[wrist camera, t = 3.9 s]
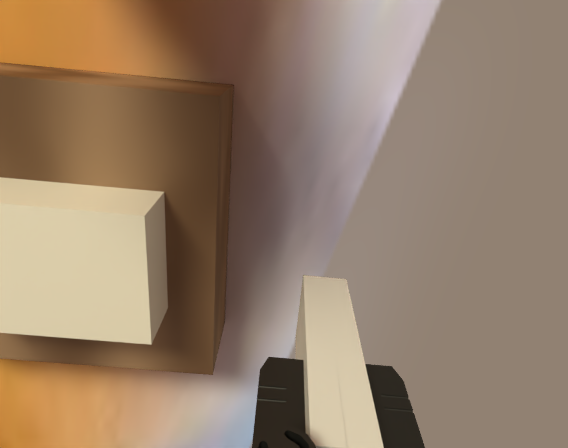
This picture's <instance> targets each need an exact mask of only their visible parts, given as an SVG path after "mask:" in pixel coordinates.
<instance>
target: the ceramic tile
mask: <svg viewBox="0 0 568 448" xmlns="http://www.w3.org/2000/svg"><path fill="white" fill-rule="evenodd" d="M167 309H168V295H167V263H166V231H165V199H164V192H160V191H149V190H138V189H126V188H115V187H104V186H92V185H81V184H70V183H59V182H47V181H36V180H25V179H13V178H2V177H0V333H10V334H23V335H36V336H48V337H61V338H74V339H86V340H99V341H112V342H125V343H137V344H150V345H151V344H152V342H153V340H154V338H155V336H156V333H157V331H158V329H159V327H160V324H161V322H162V320H163V318H164V316H165V313H166V311H167Z"/></svg>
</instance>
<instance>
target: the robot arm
mask: <svg viewBox="0 0 568 448" xmlns="http://www.w3.org/2000/svg"><path fill="white" fill-rule="evenodd" d="M252 448H425V447H424V443H423V440H422V437H421V434H420V431H419V428H418V425H417V422H416V419H415V415H414V413H413V409H412V406H411V403H410V400H408V394H407V391H406V388H405V384H404V382H403V380H402V378H401V377H400V376H399V375H398V374H397V372H396V371H395V370H394V369H393V367H392V366H381V365H370V364H365V361H364V357H363V352H362V348H361V343H360V339H359V334H358V330H357V325H356V321H355V316H354V312H353V307H352V303H351V298H350V294H349V289H348V285H347V280H346V279H339V278H327V277H317V276H306V275H303V283H302V291H301V299H300V306H299V314H298V322H297V330H296V359H287V358H275V357H268V359H267V360H266V362H265V363H264V365H263V366H262V368H261V369H260V376H259V386H258V395H257V405H256V415H255V424H254V434H253V444H252Z"/></svg>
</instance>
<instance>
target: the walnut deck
mask: <svg viewBox="0 0 568 448" xmlns="http://www.w3.org/2000/svg"><path fill="white" fill-rule="evenodd" d="M233 86H234V85H229V84H219V83H208V82H198V81H187V80H177V79H166V78H156V77H145V76H135V75H125V74H114V73H104V72H93V71H83V70H72V69H62V68H52V67H41V66H31V65H20V64H10V63H0V177H2V178H13V179H25V180H36V181H47V182H59V183H70V184H81V185H92V186H104V187H115V188H126V189H138V190H149V191H160V192H164V199H165V231H166V263H167V295H168V309H167V311H166V313H165V316H164V318H163V320H162V322H161V324H160V327H159V329H158V331H157V333H156V336H155V338H154V340H153V342H152V344H151V345H150V344H137V343H125V342H112V341H99V340H86V339H74V338H61V337H48V336H36V335H23V334H10V333H0V358H1V359H14V360H27V361H40V362H53V363H66V364H79V365H92V366H105V367H118V368H131V369H144V370H157V371H170V372H183V373H196V374H209V375H213V371H214V367H215V362H216V358H217V353H218V349H219V345H220V340H221V336H222V332H223V327H224V323H225V297H226V271H227V244H228V218H229V192H230V165H231V139H232V112H233Z"/></svg>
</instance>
